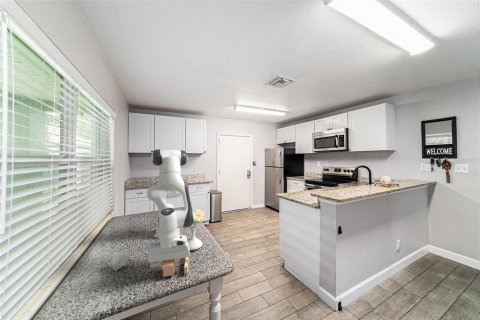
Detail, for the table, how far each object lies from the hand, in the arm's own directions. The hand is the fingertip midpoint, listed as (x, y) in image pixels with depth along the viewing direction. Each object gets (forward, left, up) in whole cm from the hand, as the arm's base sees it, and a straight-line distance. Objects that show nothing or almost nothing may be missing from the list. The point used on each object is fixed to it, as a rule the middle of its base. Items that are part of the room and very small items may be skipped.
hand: (169, 267), depth 92 cm
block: (0, 0, -2) cm, 2 cm away
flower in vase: (-23, +12, -3) cm, 26 cm away
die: (-12, -28, -3) cm, 31 cm away
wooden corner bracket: (-1, -1, -3) cm, 4 cm away
